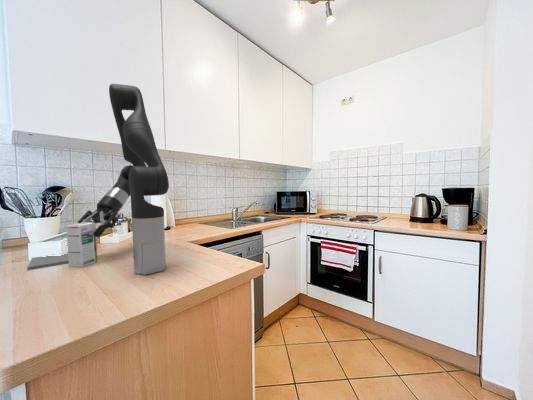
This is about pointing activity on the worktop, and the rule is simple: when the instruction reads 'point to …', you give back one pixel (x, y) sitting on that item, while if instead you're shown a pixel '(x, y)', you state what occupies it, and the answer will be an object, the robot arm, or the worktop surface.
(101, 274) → the worktop surface
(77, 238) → the syrup box
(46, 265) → the mat
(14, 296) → the worktop surface
